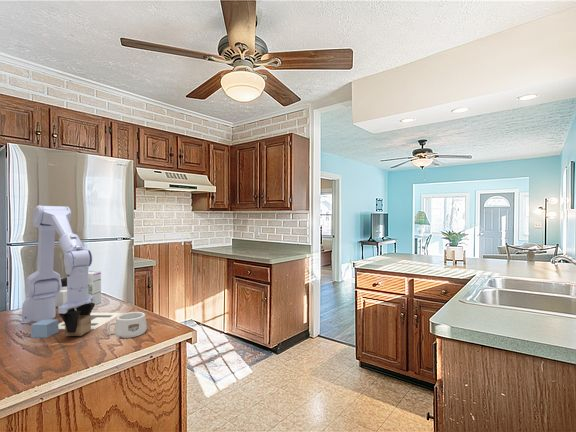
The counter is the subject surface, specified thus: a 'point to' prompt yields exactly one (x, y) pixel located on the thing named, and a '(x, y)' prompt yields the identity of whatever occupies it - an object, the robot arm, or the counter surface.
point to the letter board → (96, 319)
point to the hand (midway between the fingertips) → (77, 329)
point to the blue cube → (44, 328)
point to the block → (81, 326)
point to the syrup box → (94, 285)
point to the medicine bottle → (62, 293)
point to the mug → (129, 325)
